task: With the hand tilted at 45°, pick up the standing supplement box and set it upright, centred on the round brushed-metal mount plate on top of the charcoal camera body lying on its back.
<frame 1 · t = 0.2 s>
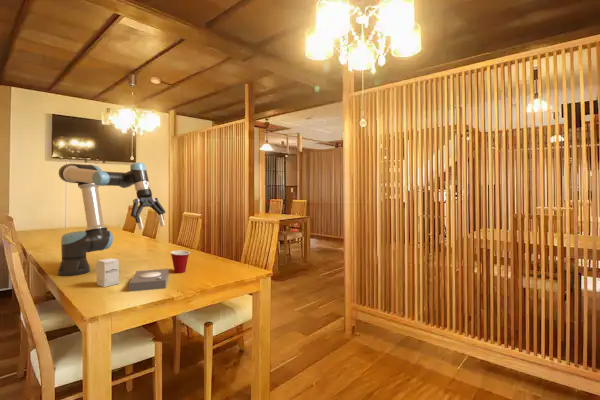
hand: (152, 227, 177), 27 cm above the table, tool tilted 20°, fingers open, 13 cm apart
plastic cup: (180, 272, 188), on the table
camera body: (150, 283, 166), on the table
supplement box: (108, 285, 163), on the table
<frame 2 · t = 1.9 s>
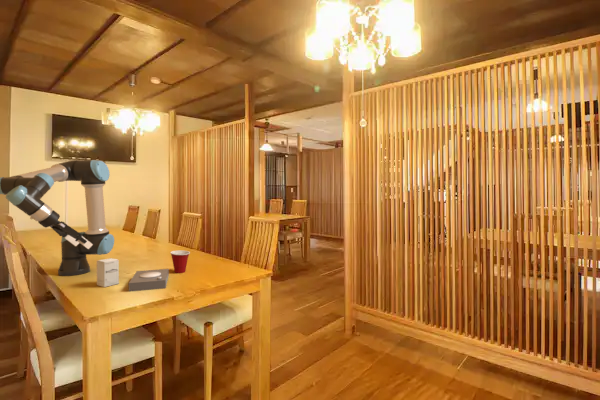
hand: (84, 245, 154), 21 cm above the table, tool tilted 45°, fingers open, 13 cm apart
nothing on the table moved.
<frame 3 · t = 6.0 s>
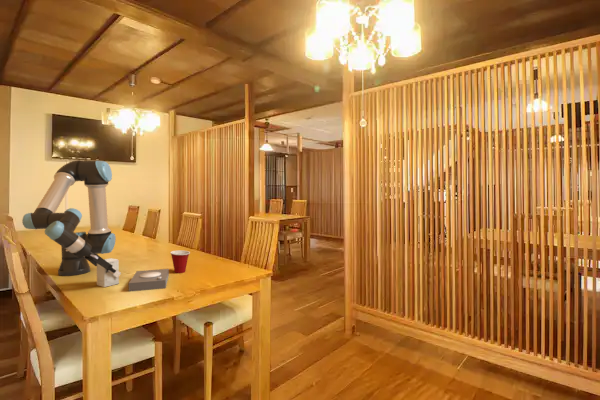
hand: (115, 274, 166), 5 cm above the table, tool tilted 45°, fingers closed on supplement box, 8 cm apart
supplement box: (108, 285, 163), on the table, touching gripper
everything else where it was.
when the fingers open (10 cm above the table, at t = 11.8 s): supplement box drops 1 cm, resting on camera body.
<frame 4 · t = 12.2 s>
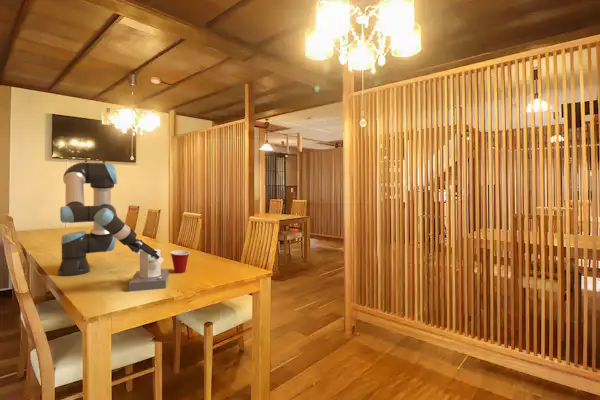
hand: (154, 260, 167), 11 cm above the table, tool tilted 45°, fingers open, 13 cm apart
supplement box: (150, 274, 165), point 4 cm above the table, touching camera body
everything else where it was.
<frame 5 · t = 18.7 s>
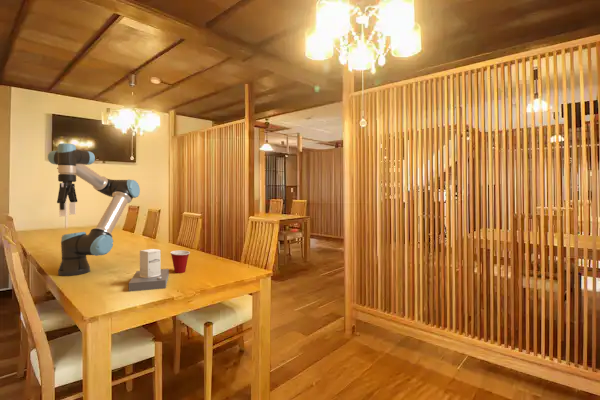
hand: (67, 215, 166), 35 cm above the table, tool pointing down, fingers open, 13 cm apart
nothing on the table moved.
at the end: supplement box 0.3 cm off-centre on the camera body, point 4.3 cm above the camera body's base; supplement box tilted 0°; the gripper is holding nothing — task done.
